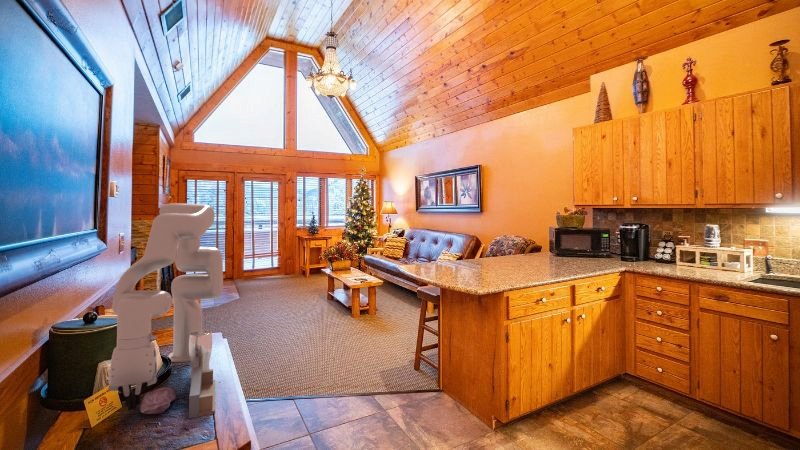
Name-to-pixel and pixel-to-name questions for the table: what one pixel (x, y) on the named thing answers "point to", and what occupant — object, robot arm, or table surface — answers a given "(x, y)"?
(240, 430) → the table surface
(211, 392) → the beige stepped bar
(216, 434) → the table surface
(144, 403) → the pink rounded lump
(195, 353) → the beer glass
